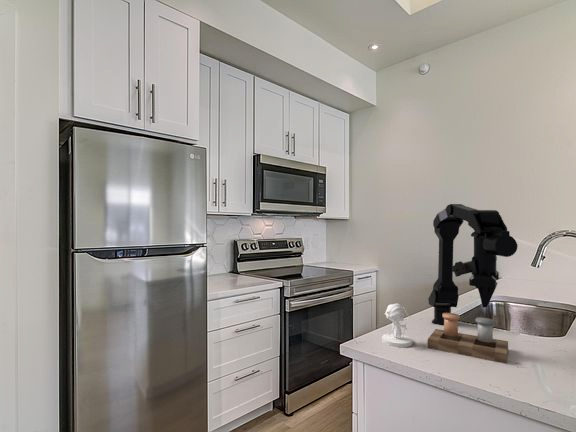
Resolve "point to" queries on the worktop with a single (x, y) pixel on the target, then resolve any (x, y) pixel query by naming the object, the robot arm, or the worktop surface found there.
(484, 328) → the plug grey
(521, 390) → the worktop surface
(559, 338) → the worktop surface
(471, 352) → the socket board
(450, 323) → the plug terracotta
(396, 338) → the figurine
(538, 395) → the worktop surface
